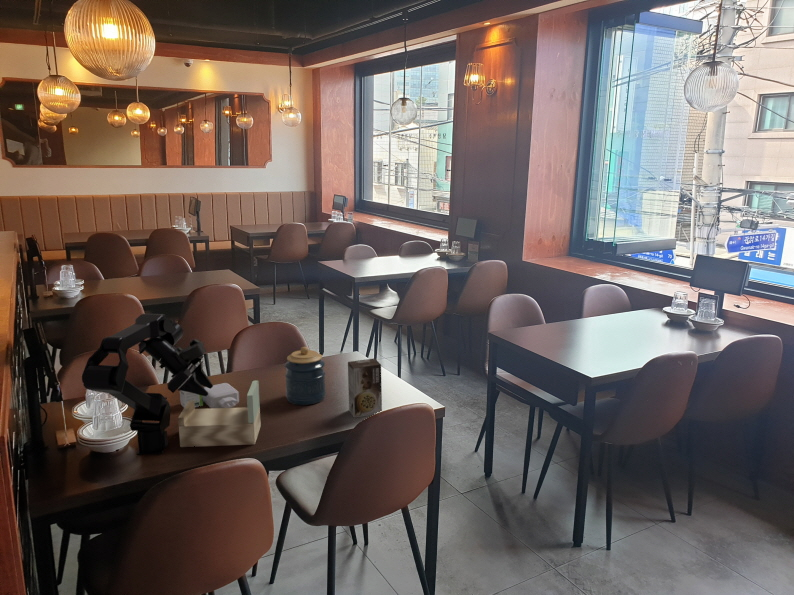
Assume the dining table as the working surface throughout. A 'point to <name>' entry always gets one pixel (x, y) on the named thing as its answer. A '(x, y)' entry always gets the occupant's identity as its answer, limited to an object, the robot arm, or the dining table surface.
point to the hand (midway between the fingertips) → (209, 391)
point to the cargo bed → (216, 426)
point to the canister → (305, 377)
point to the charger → (221, 396)
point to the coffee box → (364, 387)
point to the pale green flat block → (253, 401)
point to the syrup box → (190, 398)
